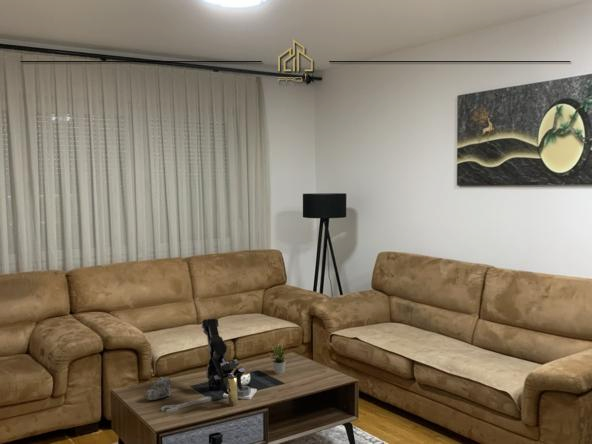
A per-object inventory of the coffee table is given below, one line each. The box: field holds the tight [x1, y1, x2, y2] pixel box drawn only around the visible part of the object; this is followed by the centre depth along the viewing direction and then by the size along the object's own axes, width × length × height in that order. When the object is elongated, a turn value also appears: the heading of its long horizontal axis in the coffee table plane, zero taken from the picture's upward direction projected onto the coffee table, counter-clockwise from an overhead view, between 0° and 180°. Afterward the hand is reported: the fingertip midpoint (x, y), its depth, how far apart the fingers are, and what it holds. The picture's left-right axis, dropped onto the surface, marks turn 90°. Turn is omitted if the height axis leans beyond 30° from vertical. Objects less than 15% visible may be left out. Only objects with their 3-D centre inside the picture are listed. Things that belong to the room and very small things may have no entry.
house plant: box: [268, 342, 289, 375], centre depth 318 cm, size 14×14×16 cm
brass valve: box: [226, 375, 239, 407], centre depth 272 cm, size 4×4×14 cm
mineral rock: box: [145, 376, 173, 401], centre depth 283 cm, size 13×11×10 cm
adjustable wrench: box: [160, 396, 212, 414], centre depth 272 cm, size 25×6×2 cm, turn 122°
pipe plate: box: [222, 385, 258, 400], centre depth 285 cm, size 14×11×4 cm
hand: (234, 391), depth 271 cm, fingers open, 7 cm apart
